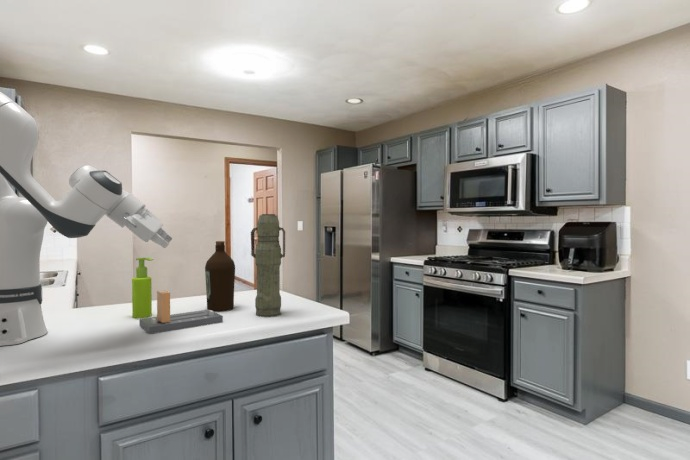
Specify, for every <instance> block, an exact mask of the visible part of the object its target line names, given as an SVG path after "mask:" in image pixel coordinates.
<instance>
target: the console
mask: <svg viewBox="0 0 690 460" xmlns="http://www.w3.org/2000/svg"><path fill="white" fill-rule="evenodd" d="M223 317H224V316H223V315H222V314H219V313H218V312H215V311H212V310H209V309H208V310H207V309H202V310H195V311H187V312H182V313H181V312H180V313H173V314H170V322H165V323H161V322H160V321H158V320H157V316H150V317H146V318H138V319H139V320H138V321H139V322H138V323H139V326H140V327H141V328H142V329H143V330H145V331H146V333H148V334H149V335H151V334H157V333H163V332H170V331H175V330H176V331H177V330H182V329H183V330H184V329H187V328H188V329H189V328H193V327H194V328H195V327H201V325H202V326H207V324H208V325H212V324H213V323H214V324H218V323H223V322H224V319H223ZM214 324H213V325H214Z"/></svg>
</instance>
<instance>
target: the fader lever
mask: <svg viewBox="0 0 690 460" xmlns="http://www.w3.org/2000/svg"><path fill="white" fill-rule="evenodd" d="M170 315H171V292H169V291H168V290H157V291H156V317H157V320H158V321H160V322H161V323H165V322H170Z"/></svg>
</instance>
